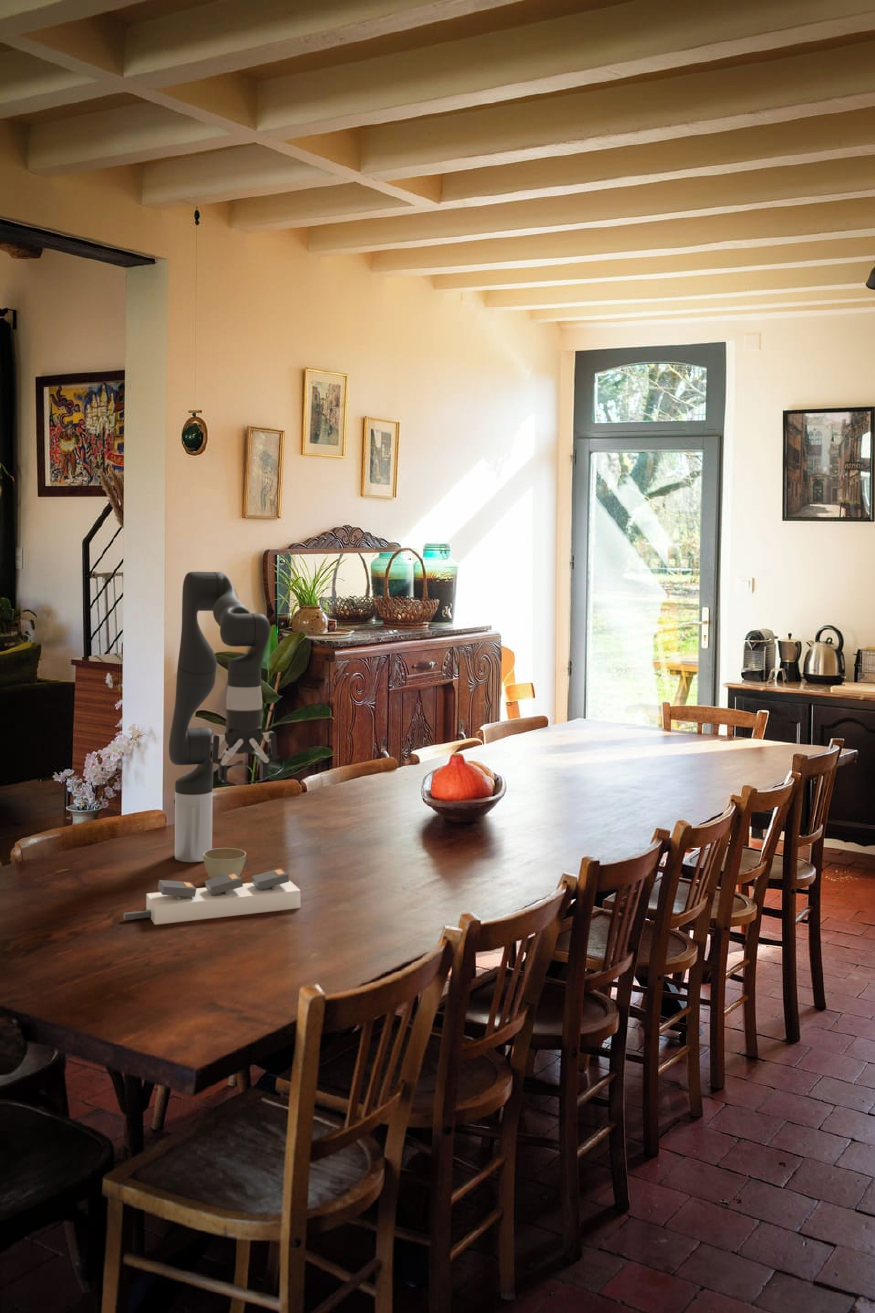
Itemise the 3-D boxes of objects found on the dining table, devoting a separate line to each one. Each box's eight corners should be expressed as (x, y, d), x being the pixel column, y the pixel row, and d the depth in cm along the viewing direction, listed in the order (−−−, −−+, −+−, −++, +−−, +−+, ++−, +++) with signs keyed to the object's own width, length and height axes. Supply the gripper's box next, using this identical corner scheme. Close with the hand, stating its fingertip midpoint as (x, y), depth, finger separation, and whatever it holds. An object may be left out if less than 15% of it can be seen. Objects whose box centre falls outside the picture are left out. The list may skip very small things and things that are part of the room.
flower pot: (204, 890, 270) (204, 860, 269) (201, 877, 279) (201, 848, 278) (248, 888, 272) (248, 858, 272) (243, 875, 282) (243, 846, 281)
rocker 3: (252, 883, 261) (251, 875, 261) (282, 875, 264) (281, 867, 264) (259, 890, 257) (257, 882, 256) (289, 881, 260) (287, 873, 259)
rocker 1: (157, 888, 252) (159, 879, 252) (189, 890, 255) (191, 881, 255) (162, 895, 248) (164, 886, 248) (194, 897, 251) (196, 888, 251)
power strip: (120, 914, 252) (120, 892, 251) (287, 896, 267) (288, 875, 267) (128, 927, 243) (128, 905, 243) (300, 908, 259) (300, 887, 259)
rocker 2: (206, 888, 257) (204, 880, 257) (236, 880, 260) (235, 872, 259) (211, 895, 252) (210, 887, 252) (243, 886, 255) (241, 878, 255)
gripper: (270, 702, 257) (269, 775, 258) (206, 705, 251) (206, 779, 252) (281, 707, 250) (280, 782, 252) (215, 710, 244) (215, 786, 246)
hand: (243, 780), depth 252 cm, fingers open, 8 cm apart
